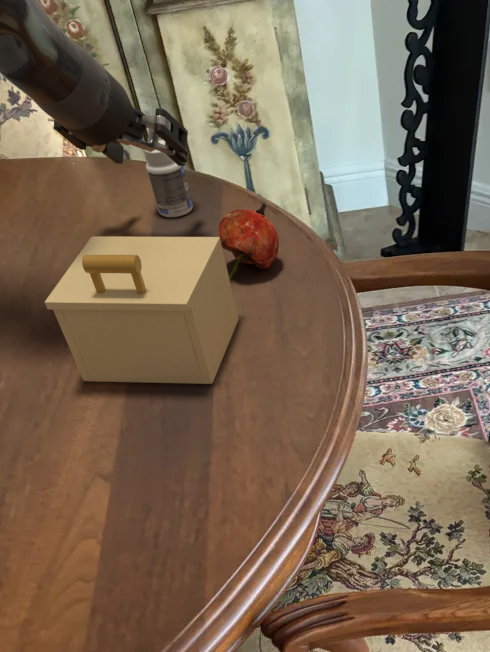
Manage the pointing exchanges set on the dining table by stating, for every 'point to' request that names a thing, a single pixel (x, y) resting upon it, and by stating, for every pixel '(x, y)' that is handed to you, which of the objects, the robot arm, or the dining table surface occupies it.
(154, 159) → the pill bottle
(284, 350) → the dining table surface
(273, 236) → the pomegranate
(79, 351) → the chest
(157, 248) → the chest lid
